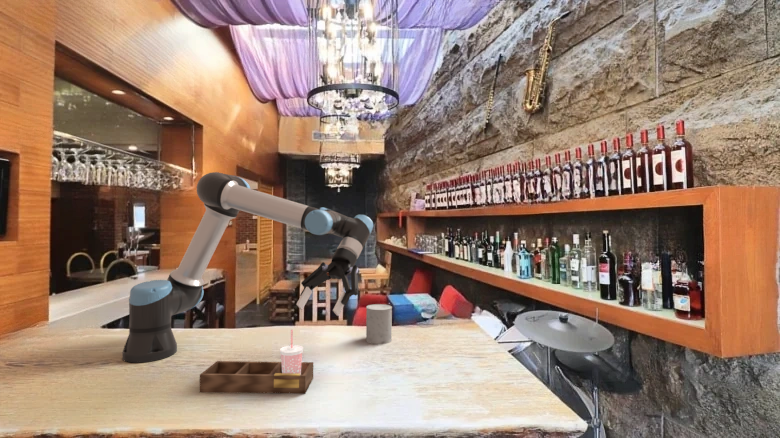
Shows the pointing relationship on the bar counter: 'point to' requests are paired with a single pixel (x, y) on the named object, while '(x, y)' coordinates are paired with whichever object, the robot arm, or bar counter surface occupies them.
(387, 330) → the gray concrete cylinder
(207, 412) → the bar counter surface
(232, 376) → the brown wooden compartment tray
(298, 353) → the beverage cup
